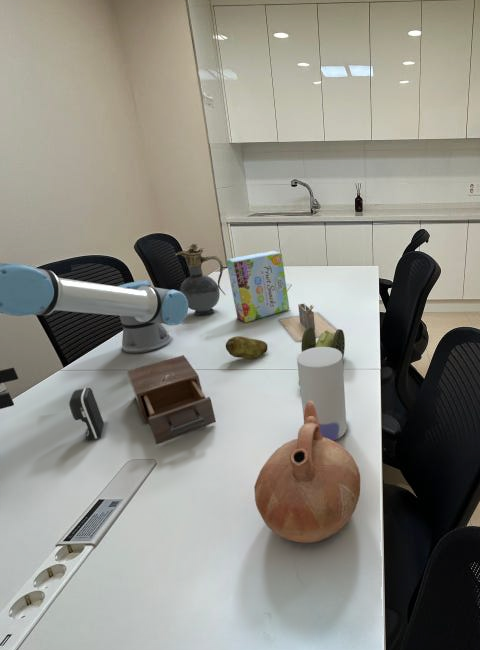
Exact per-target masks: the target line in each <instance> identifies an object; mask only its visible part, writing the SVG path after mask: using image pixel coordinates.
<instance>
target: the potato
mask: <svg viewBox="0 0 480 650" xmlns="http://www.w3.org/2000/svg"><path fill="white" fill-rule="evenodd" d="M225 350H226V352H228V354H229V355H230V356H232V357H234V358H237V359H238V358H239V359H244V360H254V359H257V358H259V357H261V356H263V355H265V354H266V353H267V352H268V343H267V342H265V340H261V339H256V338H250V337H246V336H241V335H240V336H233V337H231V338H229V339H227V341H226V342H225Z"/></svg>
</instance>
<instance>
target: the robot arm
mask: <svg viewBox="0 0 480 650" xmlns="http://www.w3.org/2000/svg"><path fill="white" fill-rule="evenodd" d="M54 311H57V312H58V311H59V312H69V313H70V312H72V313H84V314H95V315H96V314H97V315H108V316H119V319H120V322H121V326H122V340H121V346H122V349H123V351H124V352H126V353H129V354H141V353H142V354H143V353H148V352H152V351H155V350H158V349H161V348H163V347H165V346H167V345H168V344H170V341H171V337H170V334H169V330H166V328H165V327H164V325H167V326H177V325H179V324H181V323H182V322H183V321H184V320H185V319H186V317H187V316H188V312H189V308H188V301H187V299H186V297H185V295H184V294H183V293H182V292H180V290H177V289H168V288H161V287H155V286H152V284H151V283H150V281H148V280H137V281H132V282H131V281H130V282H127V283H124V284H123V283H122V284H120V285H117V286H115V285H109V284H102V283H98V282H97V283H96V282H90V281H84V280H77V279H76V280H75V279H72V278H71V279H70V278H63V277H58V276H57V275H56V273H54V272H53V271H52V270H48V269H45V268H44V269H43V268H38V267H37V268H36V267H31V266H30V265H26V264H21V263H6V262H0V314H4V315H7V316H15V317H22V316H31V315H32V316H49V315H50V314H52V313H53V312H54ZM17 380H19V376H18V374H17V372H16V369H15V367H14V366H13V367H9V368H4V369H0V385H1V384H4V383H8V382H12V381H17ZM14 406H15V403H14V401H13V399H12V396H11V394H10V392H9V391H8V392H4V393H1V394H0V410H3V409H6V408H9V407H14Z"/></svg>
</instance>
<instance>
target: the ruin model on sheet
mask: <svg viewBox="0 0 480 650" xmlns="http://www.w3.org/2000/svg"><path fill="white" fill-rule="evenodd" d="M297 307H298V316H293V317H288V318H283V319H279V322H281V324H282V325H283V327H285V329H286V330H287V331H288V332H289V334H290V335H291V336H292V338H293V339H294V340H295V341H296V342H302V338H303V334H304V331H305V330H306V328H313V329H314V332H315V335H316V338H319V337H320V335H321V334H322V333H323V332H325V331H326V330H327V331H329V332H332V333H333V334H334V335H335V332H336V331H337V329H335V328H334V327H333V326H332V325H331V324H330V323H328V322H327V321H326V320H325V319H324V318H323V317H322V316H320V315H319V314H318V313H317V312H315V313H314V311H312V310H313V309H314V308H315V306H313V304H311V305H310V306H308V305H307V304H305V303H298V306H297Z"/></svg>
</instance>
